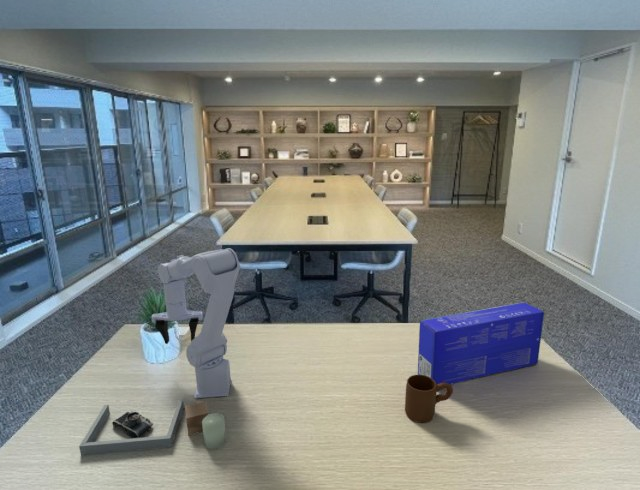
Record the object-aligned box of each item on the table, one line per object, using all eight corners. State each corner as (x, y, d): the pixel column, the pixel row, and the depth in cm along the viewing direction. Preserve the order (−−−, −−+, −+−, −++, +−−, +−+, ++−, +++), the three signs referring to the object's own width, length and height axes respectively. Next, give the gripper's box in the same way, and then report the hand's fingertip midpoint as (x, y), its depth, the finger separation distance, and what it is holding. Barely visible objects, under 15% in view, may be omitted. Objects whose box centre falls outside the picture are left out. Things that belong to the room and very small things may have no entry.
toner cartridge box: (517, 352, 134) (524, 301, 129) (538, 365, 126) (546, 311, 121) (415, 373, 122) (419, 318, 117) (431, 389, 115) (435, 331, 110)
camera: (130, 415, 105) (128, 401, 104) (155, 429, 100) (154, 415, 99) (111, 426, 101) (109, 412, 100) (137, 442, 96) (135, 427, 95)
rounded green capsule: (226, 433, 98) (225, 412, 97) (224, 448, 93) (222, 426, 92) (206, 435, 98) (203, 414, 96) (202, 450, 93) (200, 428, 91)
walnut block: (206, 417, 104) (205, 400, 103) (209, 430, 99) (207, 412, 98) (186, 422, 102) (184, 405, 101) (188, 435, 98) (186, 418, 96)
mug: (446, 404, 108) (448, 373, 106) (455, 423, 101) (458, 391, 98) (401, 404, 108) (403, 374, 106) (408, 424, 101) (410, 392, 98)
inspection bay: (184, 406, 108) (183, 398, 107) (171, 447, 94) (170, 438, 93) (105, 413, 106) (104, 405, 105) (80, 455, 92) (79, 446, 91)
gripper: (202, 294, 124) (206, 333, 128) (154, 296, 122) (159, 336, 126) (198, 303, 117) (202, 344, 121) (147, 306, 116) (152, 348, 119)
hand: (180, 341), depth 123 cm, fingers open, 7 cm apart
